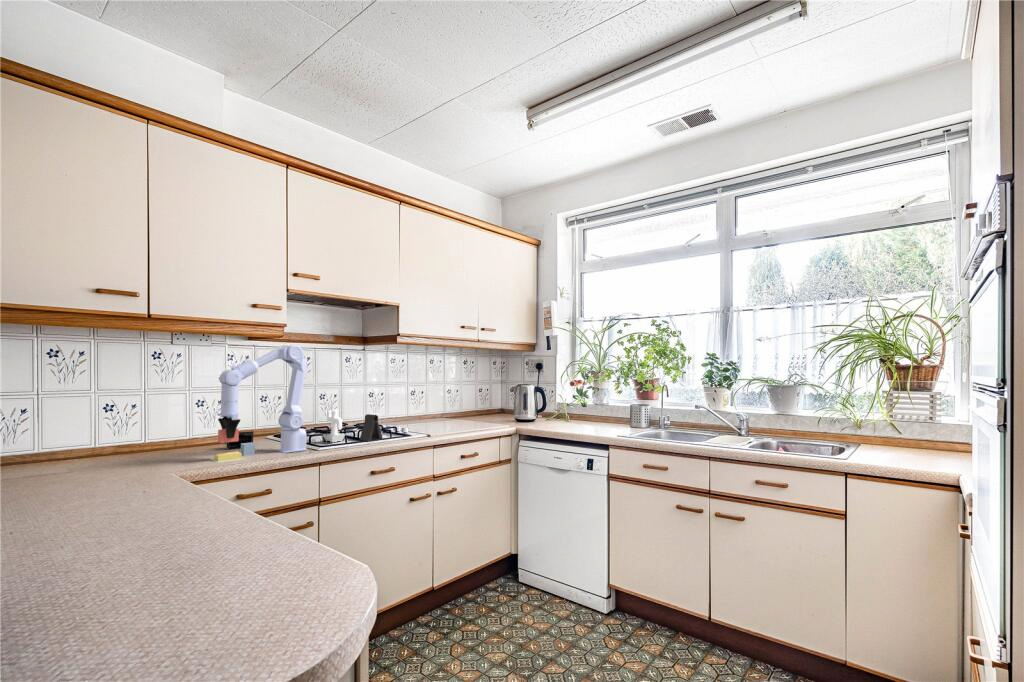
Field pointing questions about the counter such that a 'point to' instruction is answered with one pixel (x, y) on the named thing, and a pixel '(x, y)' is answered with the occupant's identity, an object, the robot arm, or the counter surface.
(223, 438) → the red brick
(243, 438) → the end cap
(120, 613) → the counter surface
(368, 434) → the phone stand
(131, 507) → the counter surface
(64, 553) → the counter surface
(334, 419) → the figurine
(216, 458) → the mustard brick
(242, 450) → the blue brick
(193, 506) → the counter surface
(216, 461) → the baseplate
